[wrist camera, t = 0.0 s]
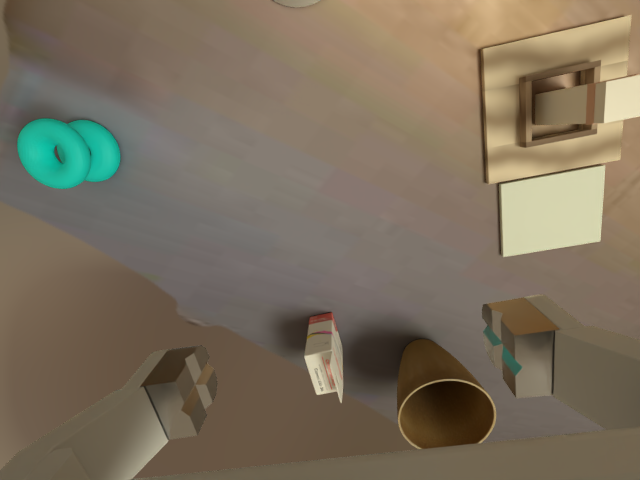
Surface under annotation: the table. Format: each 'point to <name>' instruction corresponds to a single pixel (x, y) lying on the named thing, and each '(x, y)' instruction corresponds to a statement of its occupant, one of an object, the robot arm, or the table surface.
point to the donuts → (68, 152)
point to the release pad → (551, 211)
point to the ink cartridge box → (324, 355)
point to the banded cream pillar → (590, 103)
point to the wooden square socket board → (516, 99)
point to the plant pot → (440, 399)
